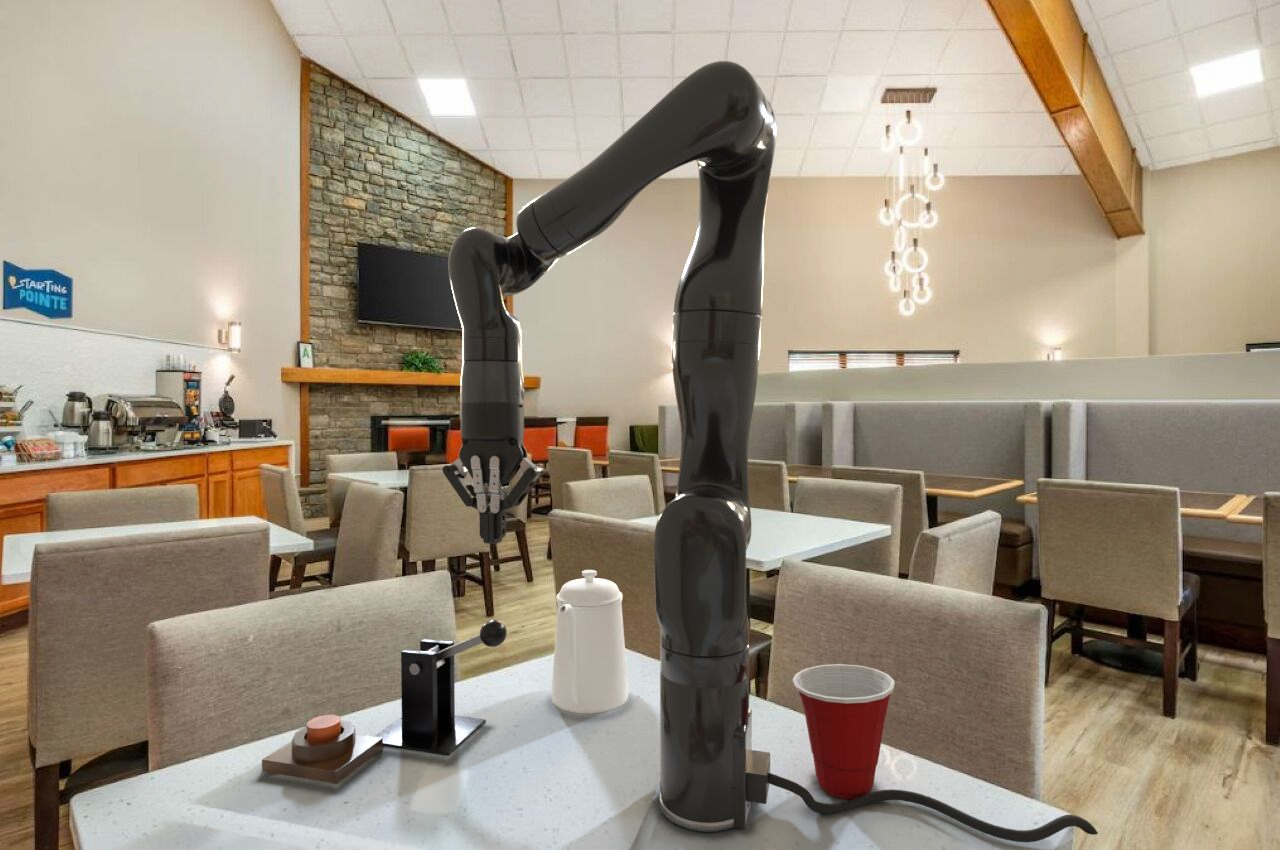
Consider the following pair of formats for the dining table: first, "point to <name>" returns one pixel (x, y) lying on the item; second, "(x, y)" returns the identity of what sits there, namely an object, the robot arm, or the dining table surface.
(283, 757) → the button base
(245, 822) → the dining table surface
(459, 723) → the lever base
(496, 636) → the lever
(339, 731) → the warm button
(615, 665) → the coffeepot
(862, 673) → the plastic cup
